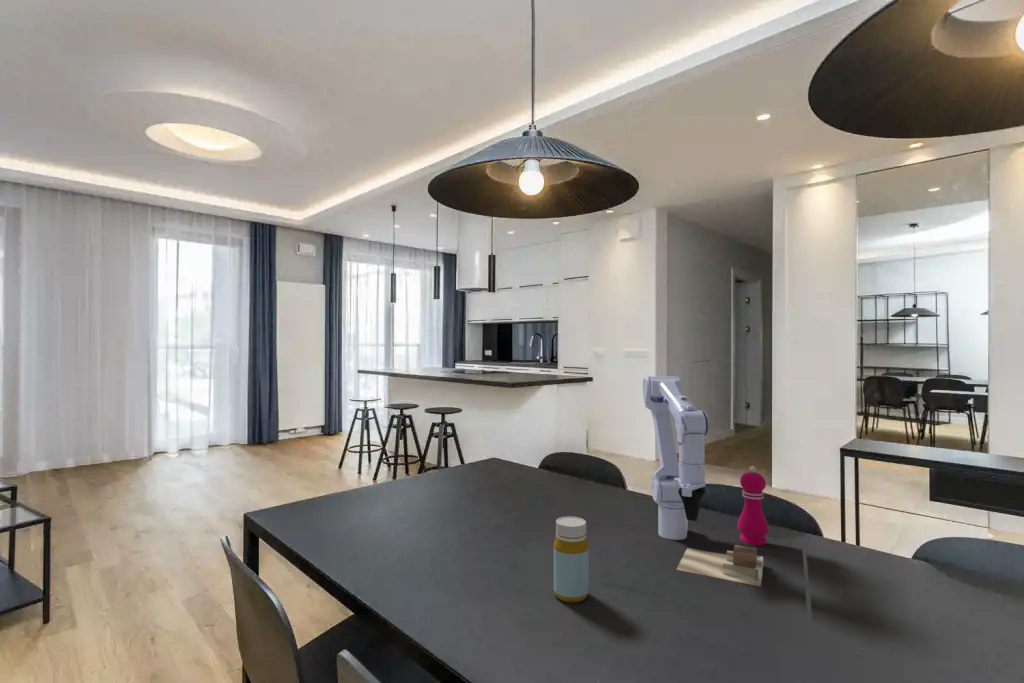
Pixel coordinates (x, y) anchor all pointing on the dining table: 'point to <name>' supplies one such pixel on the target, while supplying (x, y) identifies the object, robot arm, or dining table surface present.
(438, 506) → the dining table surface
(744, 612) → the dining table surface
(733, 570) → the board
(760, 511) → the pepper mill
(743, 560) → the block
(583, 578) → the bottle
